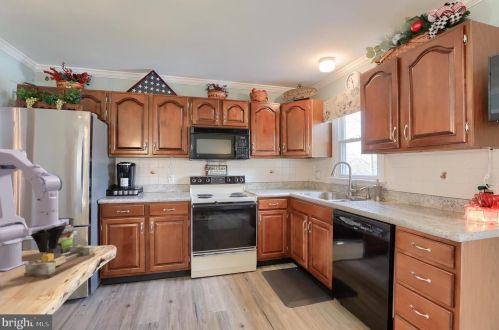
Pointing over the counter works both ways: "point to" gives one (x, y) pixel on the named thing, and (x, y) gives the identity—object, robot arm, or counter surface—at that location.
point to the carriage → (56, 256)
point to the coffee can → (66, 237)
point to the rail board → (49, 269)
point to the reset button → (47, 257)
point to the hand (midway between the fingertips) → (47, 250)
